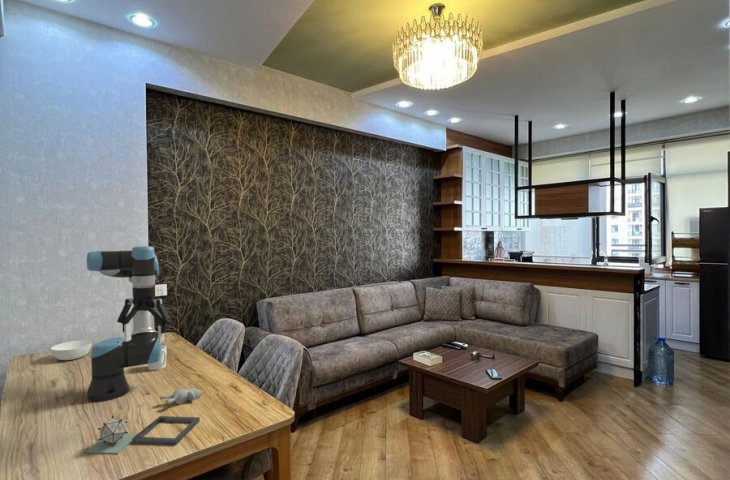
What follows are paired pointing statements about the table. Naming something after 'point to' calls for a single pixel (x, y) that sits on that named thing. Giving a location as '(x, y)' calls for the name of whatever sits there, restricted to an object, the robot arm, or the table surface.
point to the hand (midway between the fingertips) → (144, 341)
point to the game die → (112, 430)
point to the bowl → (71, 350)
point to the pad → (108, 447)
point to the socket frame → (172, 441)
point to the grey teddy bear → (182, 395)
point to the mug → (161, 363)
